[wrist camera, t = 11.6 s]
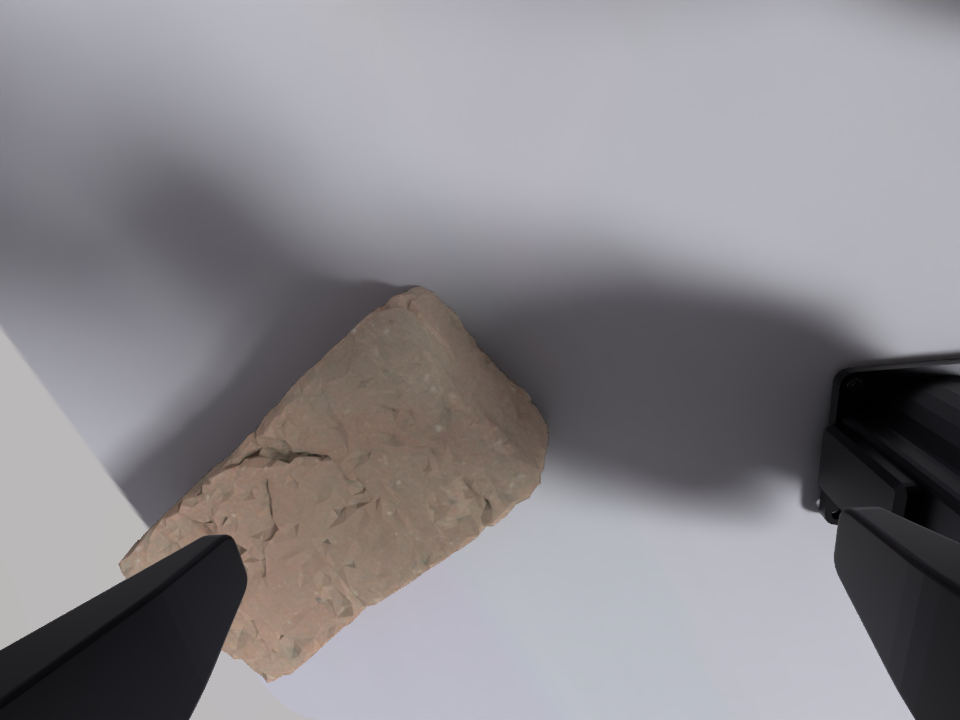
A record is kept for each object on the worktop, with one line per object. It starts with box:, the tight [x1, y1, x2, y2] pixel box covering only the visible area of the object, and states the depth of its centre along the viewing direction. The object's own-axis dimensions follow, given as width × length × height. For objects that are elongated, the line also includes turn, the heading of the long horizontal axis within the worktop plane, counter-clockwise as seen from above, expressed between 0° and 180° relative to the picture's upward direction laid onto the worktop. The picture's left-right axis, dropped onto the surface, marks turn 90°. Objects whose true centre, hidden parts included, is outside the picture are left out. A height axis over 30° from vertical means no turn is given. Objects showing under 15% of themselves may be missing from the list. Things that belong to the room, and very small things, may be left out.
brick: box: [119, 286, 549, 683], centre depth 20 cm, size 17×8×5 cm, turn 134°
